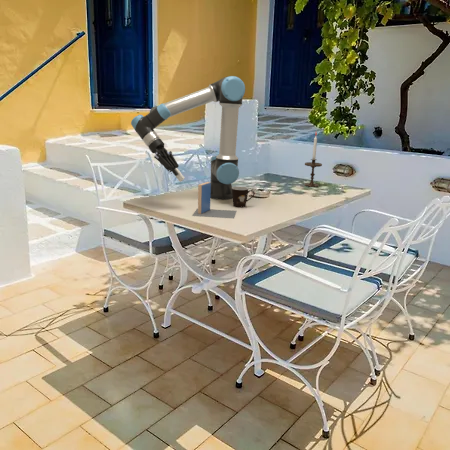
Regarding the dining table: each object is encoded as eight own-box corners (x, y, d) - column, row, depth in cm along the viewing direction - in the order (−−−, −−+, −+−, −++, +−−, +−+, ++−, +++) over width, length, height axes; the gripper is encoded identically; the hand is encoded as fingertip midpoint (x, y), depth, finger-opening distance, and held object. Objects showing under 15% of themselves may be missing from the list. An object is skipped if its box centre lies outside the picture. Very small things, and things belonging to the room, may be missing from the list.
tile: (206, 209, 233) (207, 181, 229) (210, 210, 232) (211, 182, 228) (197, 213, 225) (198, 184, 221) (201, 214, 224) (202, 185, 220)
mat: (197, 209, 234) (197, 208, 234) (236, 211, 232) (236, 210, 232) (191, 217, 220) (191, 215, 220) (234, 219, 219) (234, 218, 218)
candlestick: (304, 183, 309) (308, 129, 300) (321, 185, 306) (325, 130, 296) (301, 186, 299) (306, 131, 290) (318, 188, 296) (323, 132, 286)
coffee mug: (230, 208, 238) (230, 189, 236) (232, 204, 247) (232, 186, 244) (252, 210, 237) (253, 190, 234) (254, 206, 245) (255, 187, 242)
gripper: (157, 146, 239) (184, 182, 236) (141, 148, 228) (170, 186, 225) (165, 136, 235) (193, 173, 233) (150, 138, 224) (179, 177, 221)
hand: (182, 180), depth 229 cm, fingers closed
